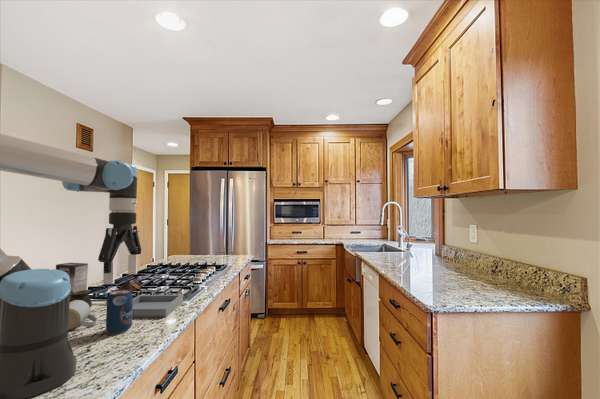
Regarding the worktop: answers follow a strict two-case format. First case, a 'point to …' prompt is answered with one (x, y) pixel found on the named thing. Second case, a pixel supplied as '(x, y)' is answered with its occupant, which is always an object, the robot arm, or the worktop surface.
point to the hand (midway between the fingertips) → (121, 278)
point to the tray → (155, 305)
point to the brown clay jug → (131, 286)
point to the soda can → (119, 311)
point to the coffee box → (75, 274)
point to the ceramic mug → (80, 314)
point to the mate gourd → (81, 296)
